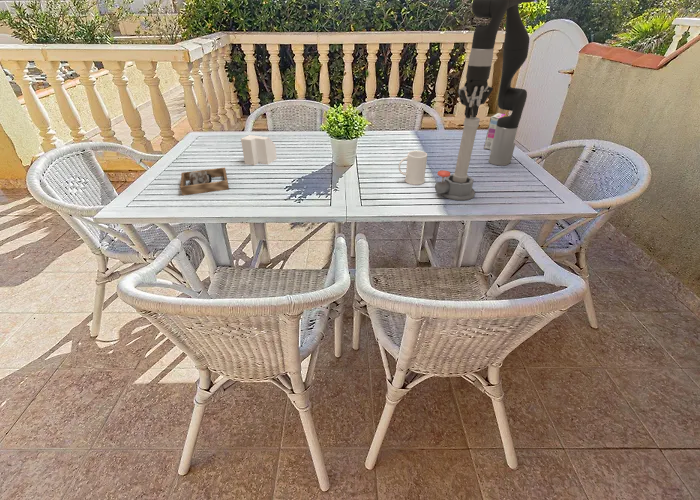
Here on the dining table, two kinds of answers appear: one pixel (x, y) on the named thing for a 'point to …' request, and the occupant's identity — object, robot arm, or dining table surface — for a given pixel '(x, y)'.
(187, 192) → the parts corral
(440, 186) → the valve socket
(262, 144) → the corner bracket
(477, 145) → the dining table surface
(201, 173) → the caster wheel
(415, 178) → the mug
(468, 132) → the pipe
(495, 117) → the candy bar box
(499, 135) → the robot arm
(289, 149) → the dining table surface
